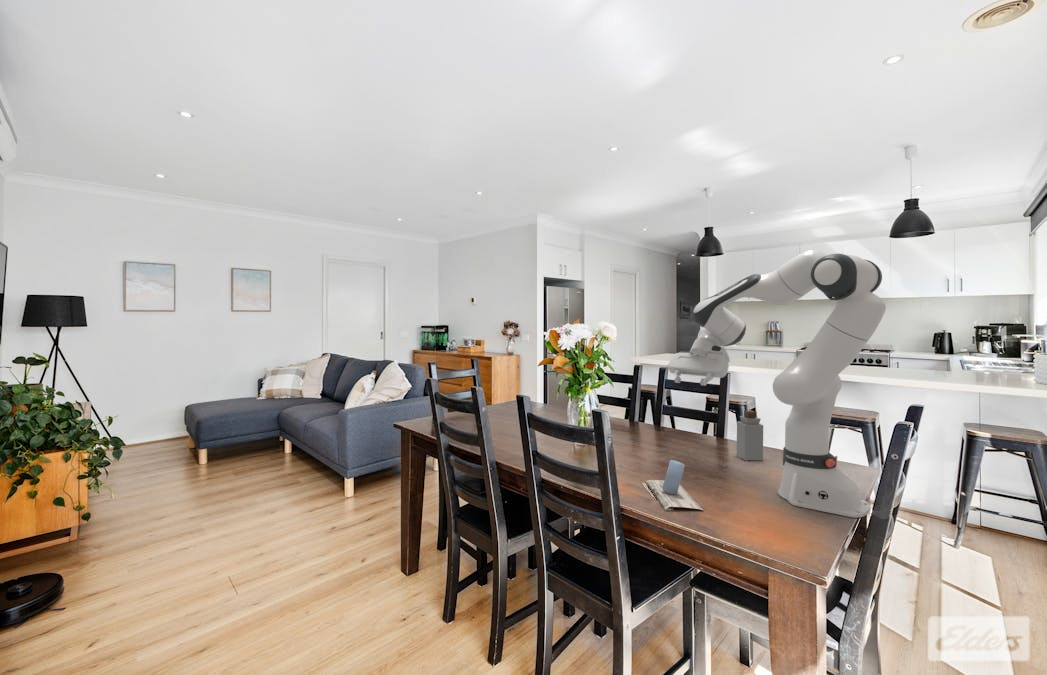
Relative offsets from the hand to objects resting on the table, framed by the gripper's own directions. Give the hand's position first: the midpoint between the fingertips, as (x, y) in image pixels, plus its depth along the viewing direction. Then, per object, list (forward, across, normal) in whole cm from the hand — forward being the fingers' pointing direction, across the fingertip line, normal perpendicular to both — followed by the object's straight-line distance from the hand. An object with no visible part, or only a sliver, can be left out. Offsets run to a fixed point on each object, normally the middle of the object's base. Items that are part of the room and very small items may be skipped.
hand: (689, 383), depth 157 cm
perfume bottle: (-2, +7, +46) cm, 47 cm away
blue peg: (+37, +6, +5) cm, 38 cm away
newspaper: (+39, +6, +7) cm, 40 cm away
